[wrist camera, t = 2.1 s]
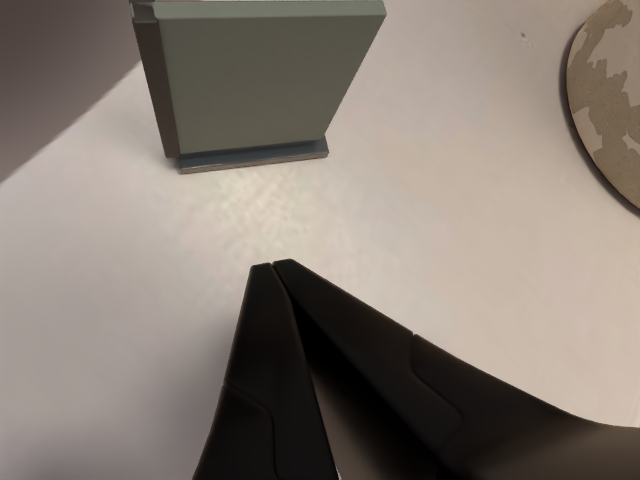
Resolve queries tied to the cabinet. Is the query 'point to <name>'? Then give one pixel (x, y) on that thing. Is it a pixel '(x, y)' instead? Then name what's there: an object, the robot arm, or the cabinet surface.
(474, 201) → the cabinet surface
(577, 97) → the vase
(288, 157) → the dark grey flat bar
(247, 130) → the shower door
